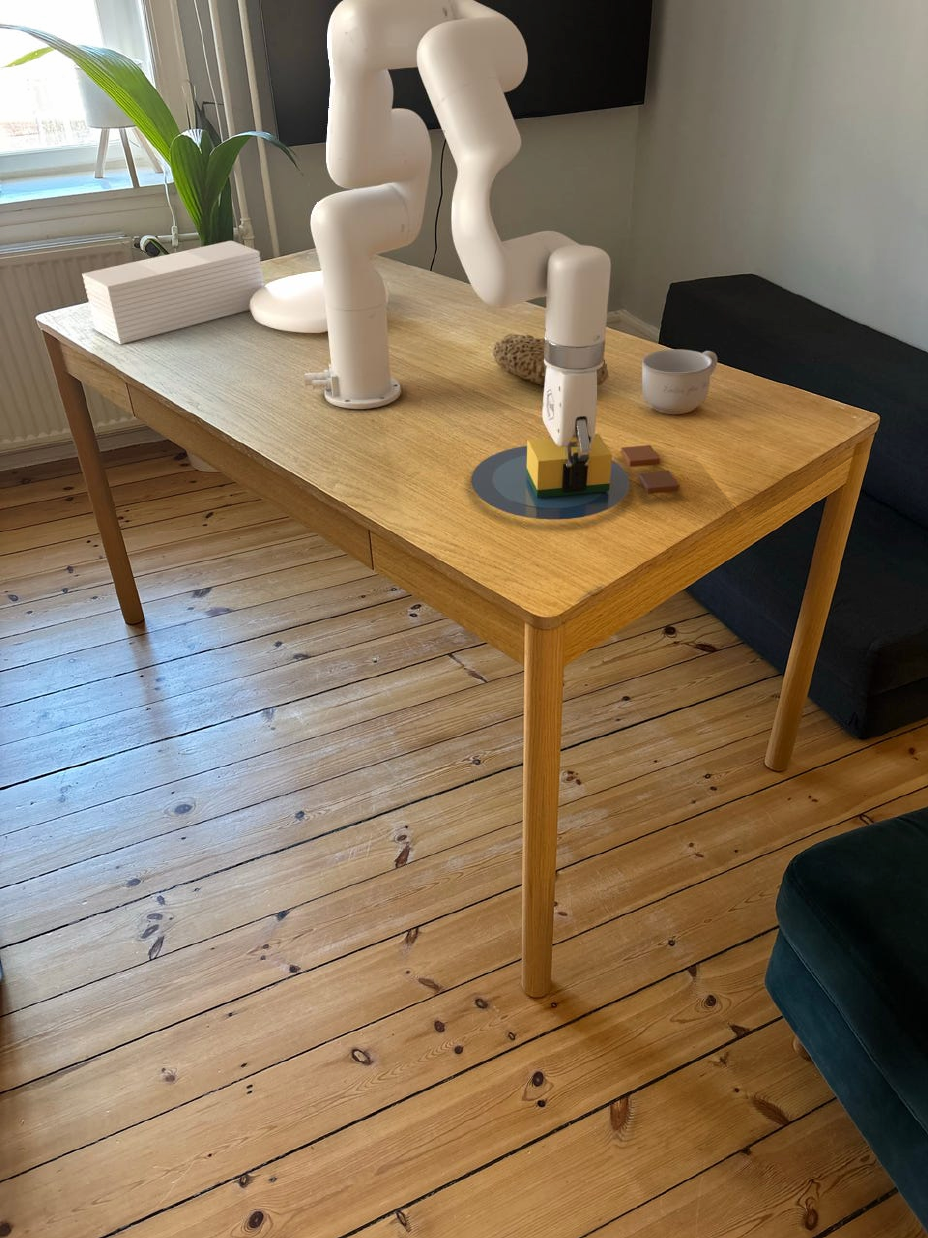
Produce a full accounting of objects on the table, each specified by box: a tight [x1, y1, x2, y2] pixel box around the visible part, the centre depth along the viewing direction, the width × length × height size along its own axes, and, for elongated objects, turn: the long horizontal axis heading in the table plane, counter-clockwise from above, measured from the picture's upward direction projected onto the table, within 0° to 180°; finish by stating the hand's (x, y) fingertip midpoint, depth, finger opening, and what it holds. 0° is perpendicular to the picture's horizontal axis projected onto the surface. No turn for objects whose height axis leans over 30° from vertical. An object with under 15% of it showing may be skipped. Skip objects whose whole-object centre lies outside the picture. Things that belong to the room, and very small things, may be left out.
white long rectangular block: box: [81, 240, 265, 345], centre depth 192 cm, size 32×11×11 cm, turn 132°
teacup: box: [641, 348, 718, 415], centre depth 156 cm, size 14×11×8 cm
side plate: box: [470, 445, 631, 521], centre depth 136 cm, size 22×22×1 cm
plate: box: [249, 270, 390, 334], centre depth 194 cm, size 28×6×27 cm
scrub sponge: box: [526, 433, 613, 498], centre depth 133 cm, size 10×6×6 cm, turn 100°
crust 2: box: [637, 470, 680, 494], centre depth 135 cm, size 4×4×2 cm
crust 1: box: [620, 444, 661, 467], centre depth 141 cm, size 4×4×2 cm
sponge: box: [492, 333, 609, 387], centre depth 165 cm, size 13×8×20 cm
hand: (567, 477), depth 134 cm, fingers closed on scrub sponge, 6 cm apart
